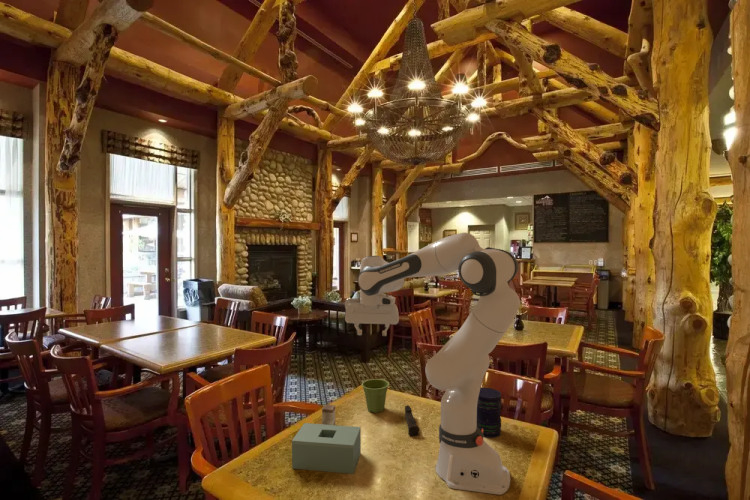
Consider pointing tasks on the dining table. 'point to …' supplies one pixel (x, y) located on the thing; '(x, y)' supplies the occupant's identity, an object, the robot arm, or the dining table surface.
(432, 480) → the dining table surface
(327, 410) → the wooden block
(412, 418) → the hand tool
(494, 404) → the storage jar
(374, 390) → the plant pot
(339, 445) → the box with square hole
